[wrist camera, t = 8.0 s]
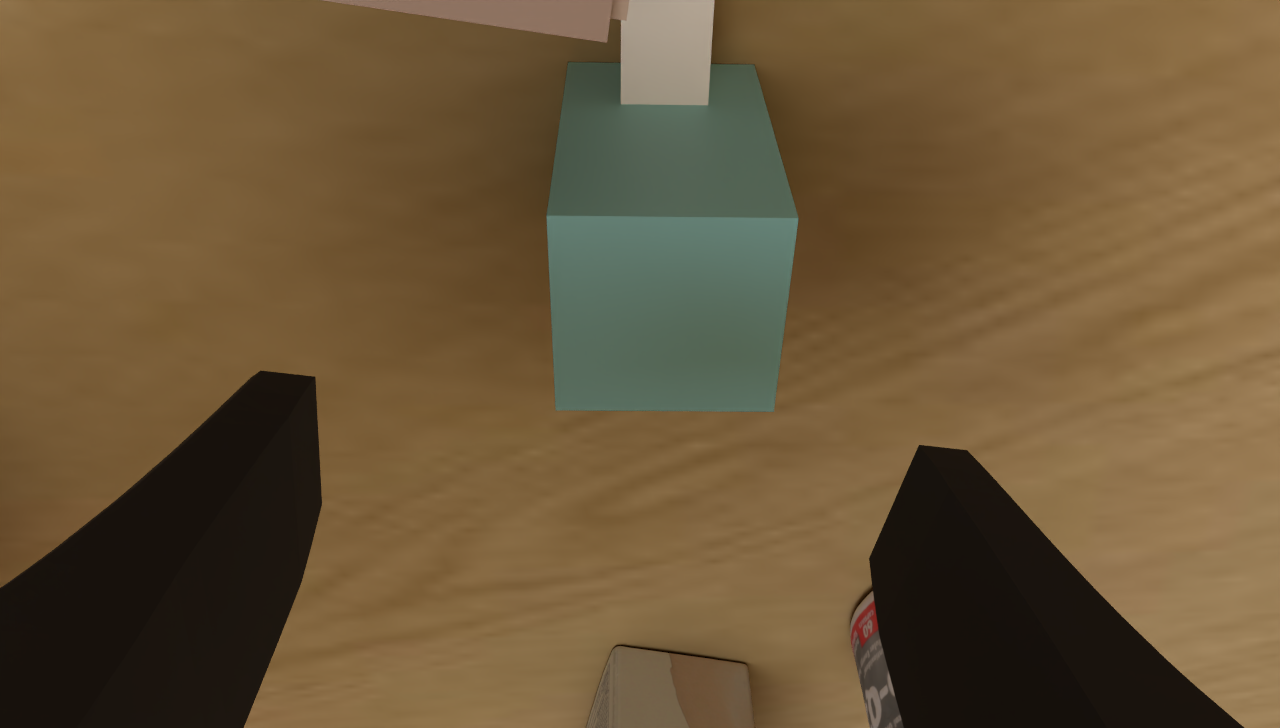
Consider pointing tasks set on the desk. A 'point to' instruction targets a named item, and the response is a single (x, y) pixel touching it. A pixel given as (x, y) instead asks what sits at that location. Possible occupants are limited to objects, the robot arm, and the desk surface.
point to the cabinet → (518, 14)
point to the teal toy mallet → (667, 226)
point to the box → (671, 692)
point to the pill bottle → (873, 668)
